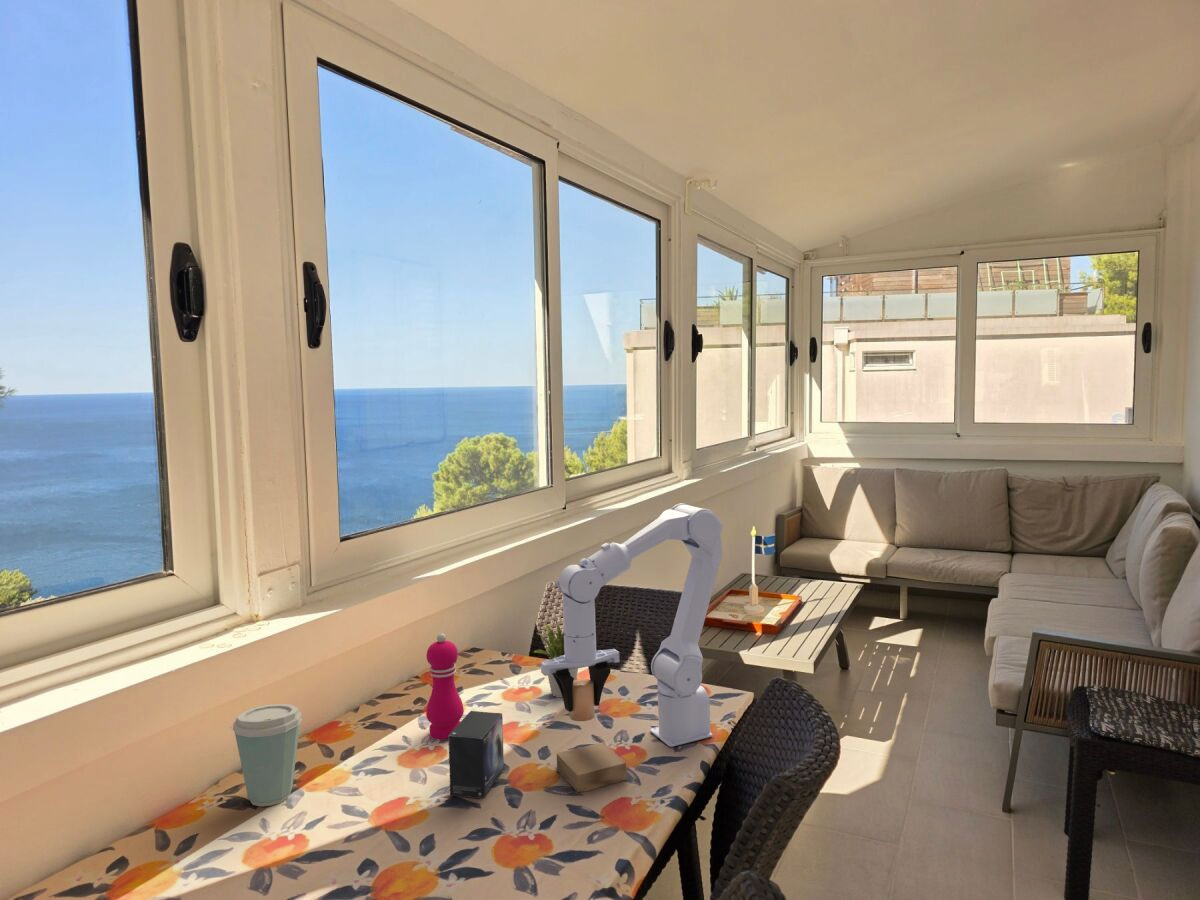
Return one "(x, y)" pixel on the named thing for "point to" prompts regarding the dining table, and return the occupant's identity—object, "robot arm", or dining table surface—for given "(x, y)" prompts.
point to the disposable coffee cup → (268, 751)
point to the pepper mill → (443, 689)
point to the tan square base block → (591, 767)
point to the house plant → (555, 655)
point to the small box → (476, 754)
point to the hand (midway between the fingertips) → (582, 706)
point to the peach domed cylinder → (582, 700)
